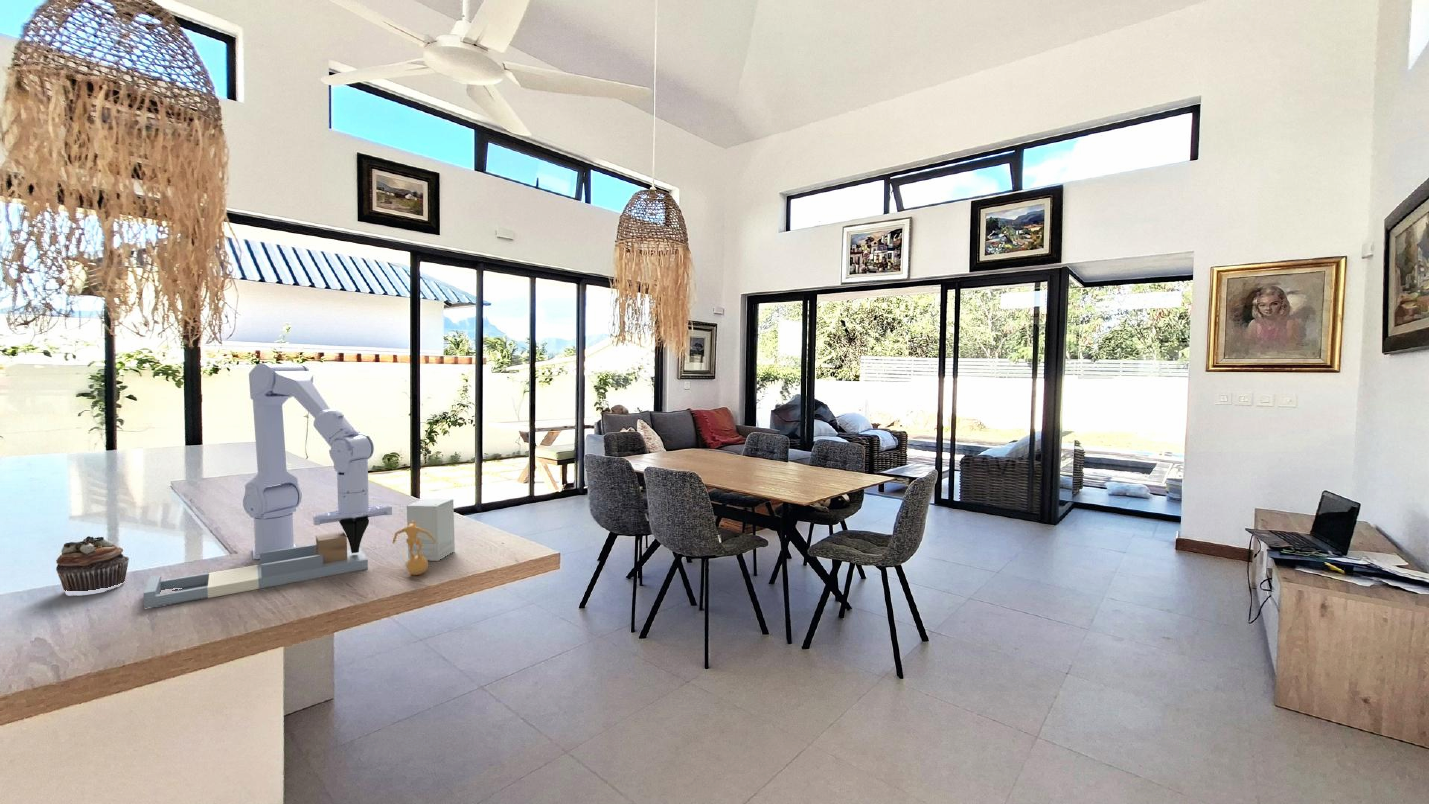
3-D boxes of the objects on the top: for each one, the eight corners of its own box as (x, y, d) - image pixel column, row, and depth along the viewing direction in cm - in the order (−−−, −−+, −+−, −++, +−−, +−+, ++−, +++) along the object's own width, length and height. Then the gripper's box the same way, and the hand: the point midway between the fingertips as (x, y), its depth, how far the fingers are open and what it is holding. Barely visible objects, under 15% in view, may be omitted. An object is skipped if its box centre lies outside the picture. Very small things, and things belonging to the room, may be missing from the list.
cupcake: (103, 596, 109) (101, 544, 108) (41, 600, 107) (38, 546, 106) (143, 578, 118) (141, 529, 117) (87, 581, 116) (84, 531, 116)
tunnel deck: (150, 592, 111) (149, 569, 111) (360, 556, 133) (359, 537, 132) (144, 609, 103) (143, 584, 103) (367, 568, 125) (367, 548, 125)
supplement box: (455, 551, 137) (455, 498, 137) (437, 561, 130) (436, 506, 129) (426, 550, 138) (425, 497, 137) (406, 560, 131) (405, 504, 130)
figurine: (441, 570, 125) (440, 515, 124) (431, 580, 119) (430, 522, 118) (400, 571, 123) (399, 516, 123) (388, 582, 117) (387, 523, 117)
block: (316, 558, 125) (315, 535, 125) (344, 553, 128) (343, 531, 128) (319, 564, 121) (318, 541, 121) (347, 559, 125) (346, 536, 124)
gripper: (315, 498, 119) (317, 563, 120) (394, 489, 128) (395, 549, 129) (311, 492, 125) (313, 554, 125) (387, 484, 134) (389, 542, 135)
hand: (354, 551), depth 128 cm, fingers closed
